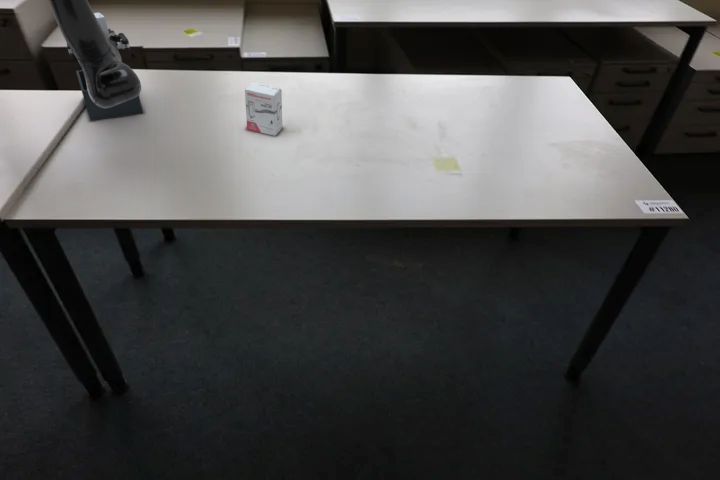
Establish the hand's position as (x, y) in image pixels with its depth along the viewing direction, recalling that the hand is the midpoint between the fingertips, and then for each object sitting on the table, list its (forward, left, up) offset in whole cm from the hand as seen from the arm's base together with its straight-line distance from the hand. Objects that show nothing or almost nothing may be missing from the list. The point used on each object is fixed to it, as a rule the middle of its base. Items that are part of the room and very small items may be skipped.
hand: (94, 34), depth 131 cm
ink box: (+35, -27, -19) cm, 48 cm away
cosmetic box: (0, -2, -7) cm, 7 cm away
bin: (0, -2, -19) cm, 19 cm away
